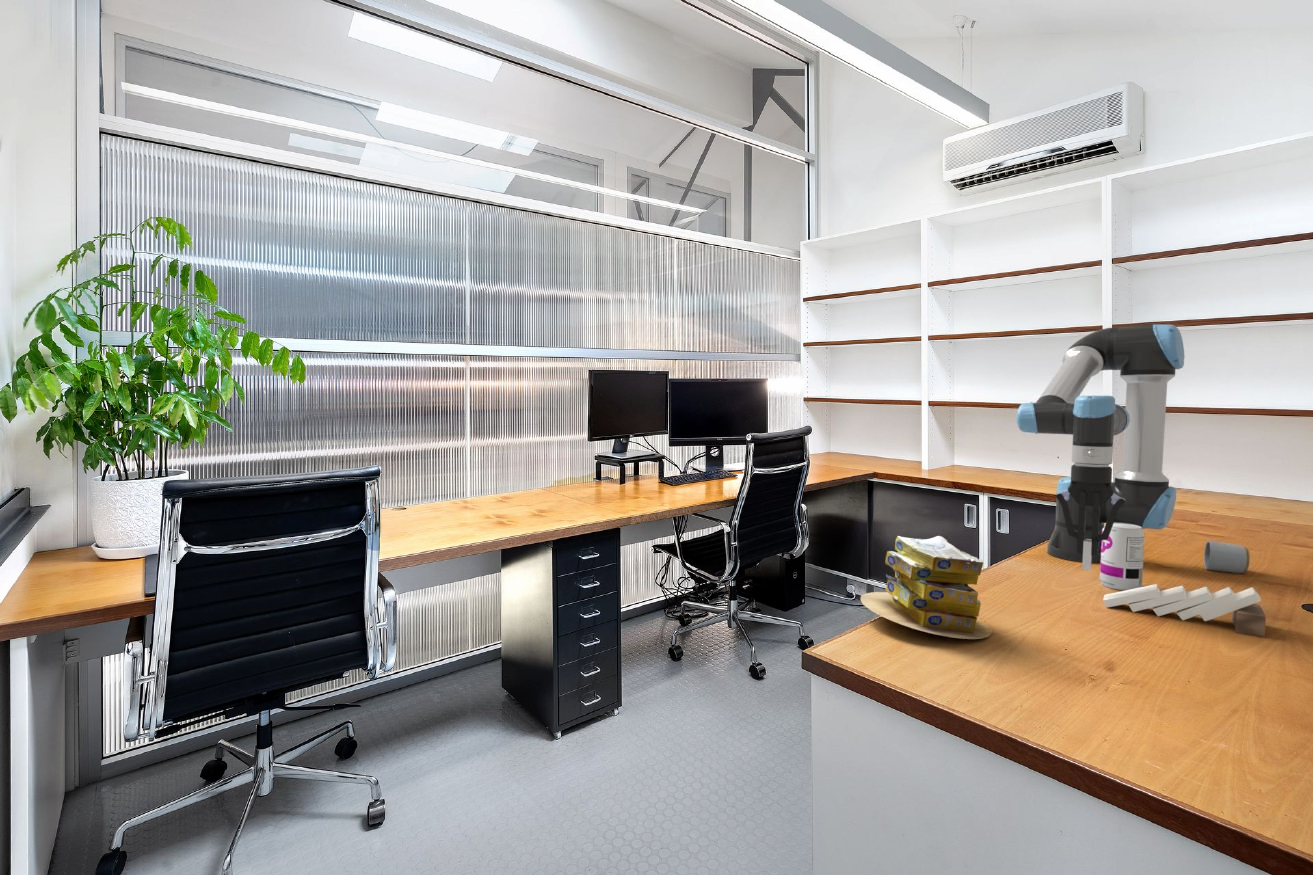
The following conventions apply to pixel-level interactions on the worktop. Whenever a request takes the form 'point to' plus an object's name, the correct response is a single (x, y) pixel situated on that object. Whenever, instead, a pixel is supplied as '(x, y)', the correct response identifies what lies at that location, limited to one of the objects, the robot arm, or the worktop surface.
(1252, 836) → the worktop surface
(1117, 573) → the supplement can
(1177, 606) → the domino
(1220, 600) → the domino
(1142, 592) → the domino
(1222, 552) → the ceramic mug
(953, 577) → the plate with stacked boxes
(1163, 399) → the robot arm
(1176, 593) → the domino
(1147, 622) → the worktop surface
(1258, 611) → the end block
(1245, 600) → the domino
